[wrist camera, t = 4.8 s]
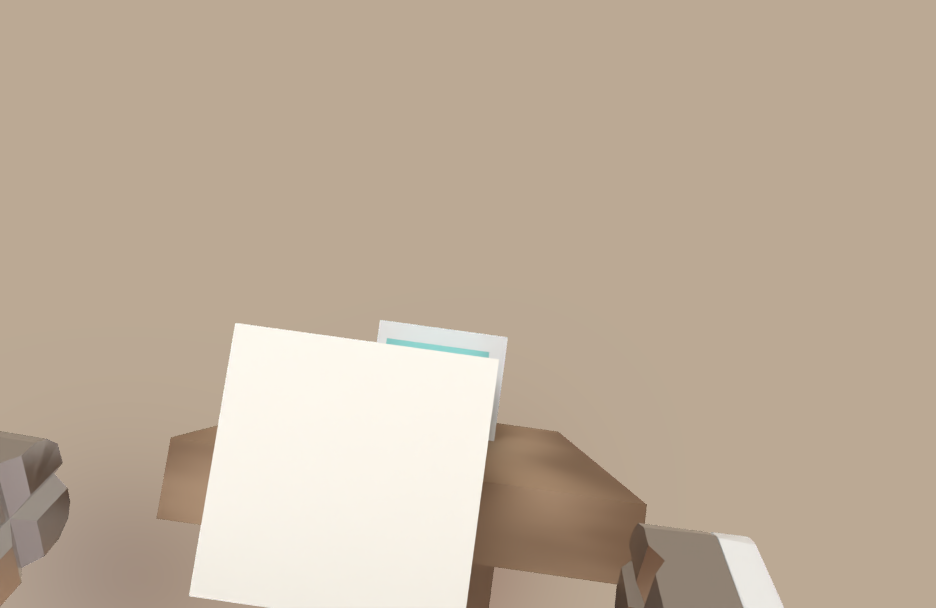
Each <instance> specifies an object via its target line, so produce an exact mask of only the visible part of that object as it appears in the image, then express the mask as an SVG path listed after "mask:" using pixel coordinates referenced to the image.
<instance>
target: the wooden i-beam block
mask: <svg viewBox="0 0 936 608" xmlns="http://www.w3.org/2000/svg"><path fill="white" fill-rule="evenodd" d="M217 428H218V425H217V426H213V427H210V428H206V429H202V430H198V431H194V432H190V433H186V434H183V435H179V436H175V437H171V439H170V446H169V452H168V457H167V462H166V468H165V474H164V479H163V485H162V491H161V496H160V502H159V508H158V513H157V519H163V520H170V521H178V522H184V523H191V524H198V525H201V523H202V517H203V511H204V505H205V499H206V493H207V487H208V481H209V475H210V470H211V464H212V458H213V452H214V446H215V440H216V434H217ZM646 506H647V504H645V503H644V502H643V501H641V500H640V499H639V498H638V497H637V496H635V495H634V494H633V493H632V492H631V491H630V490H628V489H627V488H626V487H625V486H623V485H622V484H621V483H620V482H618V481H617V480H616V479H615V478H614V477H612V476H611V475H610V474H609V473H608V472H606V471H605V470H604V469H603V468H601V467H600V466H599V465H598V464H597V463H595V462H594V461H593V460H592V459H590V458H589V457H588V456H587V455H586V454H585V453H583V452H582V451H581V450H579V449H578V448H577V447H576V446H575V445H573V444H572V443H571V442H570V441H569V440H567V439H566V438H565V437H564V436H563V435H561V434H560V433H559V432H556V431H549V430H542V429H534V428H528V427H520V426H513V425H506V424H499V423H496V431H495V438H494V441H489V440H488V447H487V454H486V462H485V469H484V477H483V484H482V492H481V499H480V507H479V514H478V522H477V530H476V537H475V545H474V552H473V560H472V567H471V575H470V582H469V590H468V597H467V605H466V608H489V602H490V595H491V587H492V579H493V572H494V567H499V568H506V569H513V570H520V571H527V572H534V573H541V574H548V575H555V576H562V577H569V578H576V579H583V580H590V581H597V582H604V583H611V584H617V583H618V579H619V575H620V572H621V568H622V567H623V566H624V565H626V564H627V563H629V562H630V561H632V558H631V553H630V548H629V541H630V538H631V535H632V532H633V529H634V528H635V527H636V525H637V524H638V523H642V524H645V515H646Z"/></svg>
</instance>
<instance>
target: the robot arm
mask: <svg viewBox="0 0 936 608" xmlns="http://www.w3.org/2000/svg"><path fill="white" fill-rule="evenodd" d="M61 464H62V459H61V455H60V451H59V447H58V444H57V443H55V442H52V441H50V440H48V439H44V438H38V437H32V436H26V435H20V434H14V433H8V432H2V431H0V606H1V605H2V604H3V603H4V602H5V600H6V599H7V598H8V597H9V596H10V595H11V594H12V593H13V592H14V590H15V589H16V588H17V587H18V586H19V585H20V584H21V575H22V573H21V572H22V567H24V566H26V565H28V564H30V563H32V562H34V561H36V560H38V559H40V558H42V557H44V556H45V555H46V554H47V552H48V551H49V550H50V549H51V548H52V546H53V545H54V544H55V543H56V542H57V540H58V539H59V537H60V535H61V533H62V531H63V528H64V526H65V524H66V522H67V519H68V515H69V506H70V499H69V494H68V488H67V487H66V486H65V485H64V484H63V483H62V482H61V481H60V479H59V478H58V477H57V476H56V475H55V472H56V471H57V470H58V468H59V467H60V466H61ZM629 548H630V553H631V558H632V561H630V562H629V563H627V564H626V565H624V566H623V567H622V568H621V572H620V575H619V579H618V583H617V589H616V600H615V608H784V606H783V604H782V602H781V600H780V597H779V595H778V593H777V591H776V589H775V587H774V584H773V582H772V580H771V578H770V576H769V573H768V571H767V569H766V566H765V564H764V562H763V560H762V558H761V556H760V553H759V551H758V549H757V547H756V544H755V543H754V542H753V541H752V540H751V539H750V538H749V537H745V536H738V535H730V534H722V533H714V532H712V533H708V532H702V531H694V530H686V529H680V528H672V527H665V526H657V525H650V524H642V523H638V524H637V525H636V527H635V528H634V529H633V532H632V535H631V538H630V541H629Z"/></svg>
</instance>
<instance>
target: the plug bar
mask: <svg viewBox="0 0 936 608" xmlns="http://www.w3.org/2000/svg"><path fill="white" fill-rule="evenodd" d="M507 339H508V338H507V337H501V336H494V335H486V334H479V333H472V332H464V331H457V330H450V329H443V328H435V327H427V326H421V325H414V324H406V323H398V322H391V321H384V320H380V325H379V332H378V338H377V342H370V341H362V340H355V339H347V338H340V337H333V336H325V335H318V334H311V333H304V332H296V331H289V330H283V329H275V328H268V327H260V326H253V325H246V324H239V323H235V328H234V334H233V340H232V346H231V352H230V357H229V363H228V369H227V376H226V381H225V387H224V393H223V399H222V405H221V411H220V416H219V422H218V428H217V434H216V440H215V446H214V452H213V458H212V464H211V470H210V475H209V481H208V487H207V493H206V499H205V505H204V511H203V517H202V523H201V529H200V535H199V540H198V546H197V552H196V558H195V564H194V570H193V576H192V582H191V588H190V594H189V596H192V597H199V598H206V599H213V600H220V601H227V602H234V603H240V604H248V605H254V606H261V607H268V608H466V605H467V597H468V590H469V582H470V575H471V567H472V560H473V552H474V545H475V537H476V530H477V522H478V514H479V507H480V499H481V492H482V484H483V477H484V469H485V462H486V454H487V447H488V440H489V441H494V438H495V431H496V423H497V415H498V408H499V400H500V392H501V385H502V377H503V369H504V362H505V355H506V347H507Z"/></svg>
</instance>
